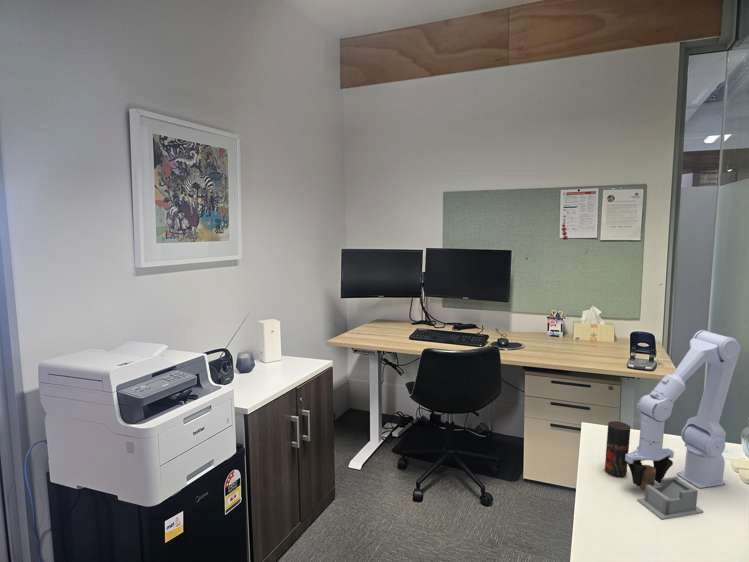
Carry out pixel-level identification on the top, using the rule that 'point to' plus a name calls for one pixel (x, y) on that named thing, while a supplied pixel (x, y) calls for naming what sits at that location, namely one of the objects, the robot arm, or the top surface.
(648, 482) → the dowel
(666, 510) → the socket
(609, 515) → the top surface
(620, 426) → the deodorant
